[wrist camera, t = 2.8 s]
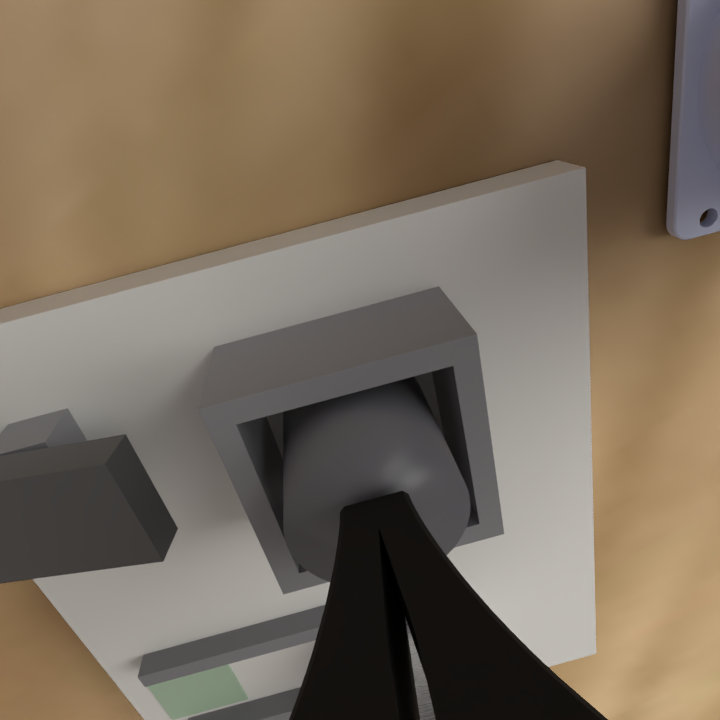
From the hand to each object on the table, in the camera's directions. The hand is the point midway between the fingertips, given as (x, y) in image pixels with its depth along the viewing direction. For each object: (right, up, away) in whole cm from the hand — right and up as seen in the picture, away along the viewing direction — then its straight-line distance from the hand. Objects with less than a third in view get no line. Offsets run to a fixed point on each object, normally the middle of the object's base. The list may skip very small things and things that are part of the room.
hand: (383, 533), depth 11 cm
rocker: (-8, 0, +2) cm, 8 cm away
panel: (-2, -2, +8) cm, 8 cm away
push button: (-1, +2, +4) cm, 4 cm away
